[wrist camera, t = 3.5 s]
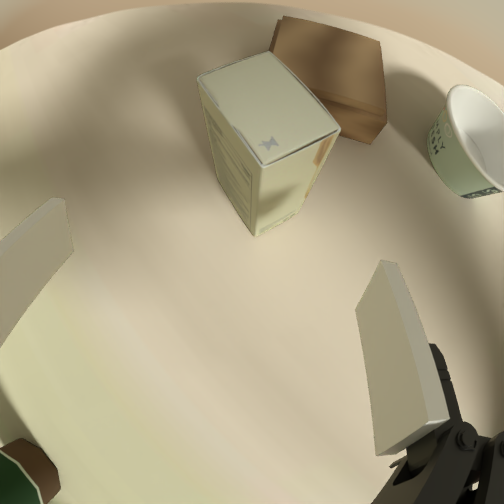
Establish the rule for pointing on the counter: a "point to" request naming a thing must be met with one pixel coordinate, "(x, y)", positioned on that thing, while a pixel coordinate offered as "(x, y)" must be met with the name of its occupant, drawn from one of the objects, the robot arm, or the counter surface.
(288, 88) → the skincare box
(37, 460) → the beer bottle
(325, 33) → the walnut base
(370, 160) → the counter surface
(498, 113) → the food container
